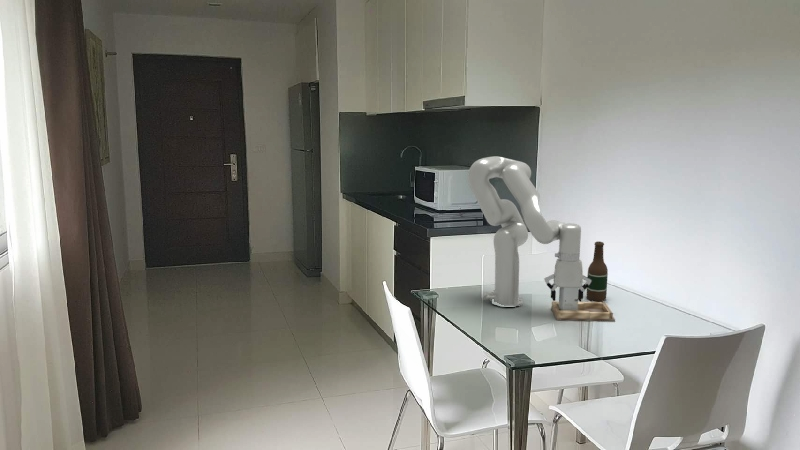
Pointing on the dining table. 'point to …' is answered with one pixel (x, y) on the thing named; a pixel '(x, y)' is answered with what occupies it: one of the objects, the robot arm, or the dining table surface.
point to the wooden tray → (584, 312)
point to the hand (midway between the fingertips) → (566, 300)
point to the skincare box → (568, 298)
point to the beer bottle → (597, 275)
